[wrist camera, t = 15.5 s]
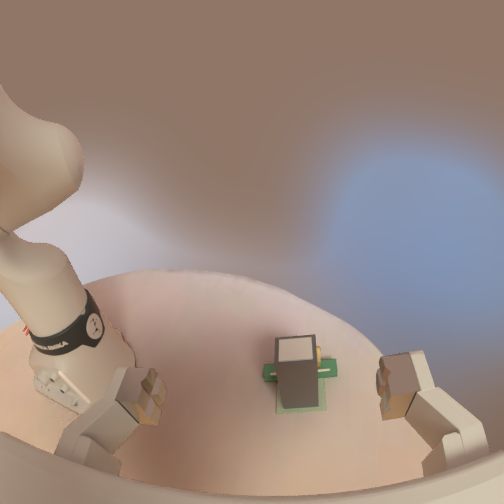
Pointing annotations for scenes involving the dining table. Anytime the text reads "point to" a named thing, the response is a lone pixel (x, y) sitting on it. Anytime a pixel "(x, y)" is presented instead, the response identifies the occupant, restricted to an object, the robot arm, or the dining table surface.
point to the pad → (309, 409)
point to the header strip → (324, 368)
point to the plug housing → (297, 371)
